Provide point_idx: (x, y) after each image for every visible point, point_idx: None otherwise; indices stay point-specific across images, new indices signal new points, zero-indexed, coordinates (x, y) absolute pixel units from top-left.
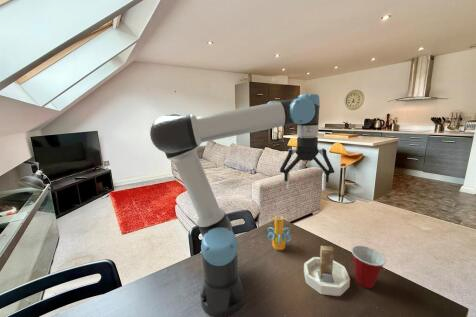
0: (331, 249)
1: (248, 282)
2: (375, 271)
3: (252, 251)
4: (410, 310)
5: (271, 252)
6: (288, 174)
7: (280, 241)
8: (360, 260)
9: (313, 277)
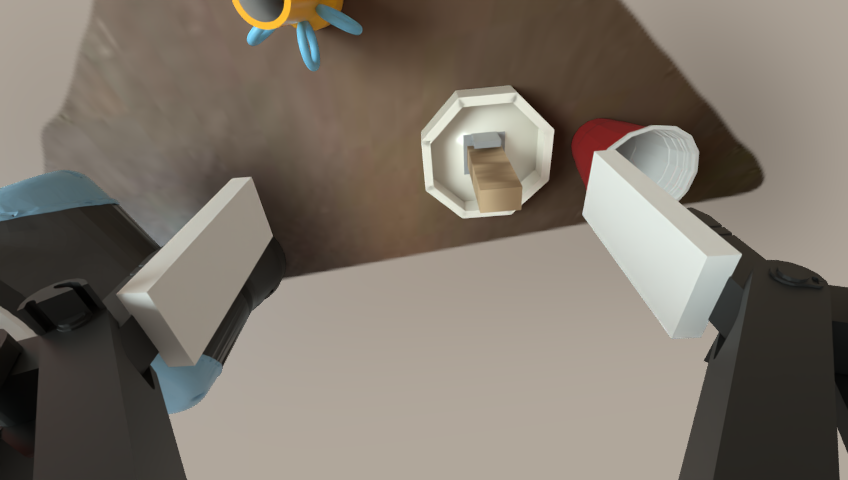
0: (515, 205)
1: (272, 206)
2: None
3: (217, 60)
4: None
5: (294, 49)
6: (179, 365)
7: (316, 27)
8: None
9: (447, 163)
